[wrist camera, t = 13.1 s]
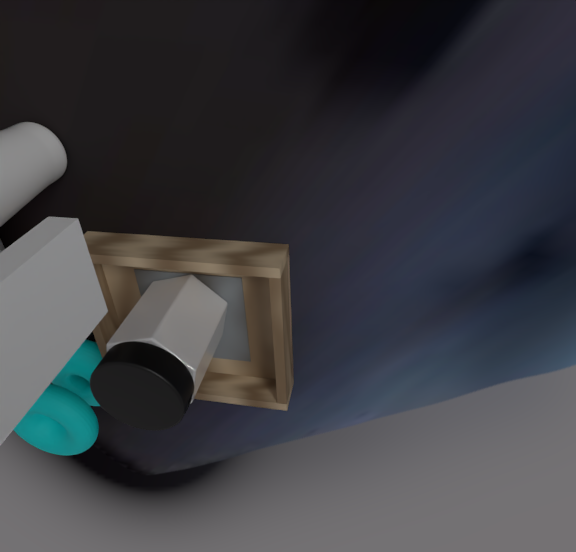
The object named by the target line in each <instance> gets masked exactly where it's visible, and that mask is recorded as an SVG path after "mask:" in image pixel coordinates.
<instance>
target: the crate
mask: <svg viewBox="0 0 576 552" xmlns="http://www.w3.org/2000/svg"><path fill="white" fill-rule="evenodd" d="M84 239H85V242H86V245H87V248H88V251H89V254H90V257H91V260H92V263H93V266H94V269H95V272H96V275H97V278H98V282H99V285H100V288H101V291H102V294H103V297H104V300H105V303H106V306H107V309H108V312H107V313H106V315H105V316H104V317H103V318H102V320H101V321H100V322H99V323H98V325H97V326H96V327H95V328H94V330H93V334H94V337H95V339H96V342H97V345H98V348H99V350H100V353H101V356H102V358H103V357H104V356H105V354H106V353H107V348H106V344H107V343H108V341H109V340H110V339H111V337H112V336H113V335H114V333H115V332H116V331H117V329H118V328H119V326H120V325H121V324H122V322H123V321H124V320H125V318H126V317H127V316H128V314H129V313H130V312H131V310H132V309H133V307H134V306H135V305H136V303H137V302H138V301H139V299H140V298H141V297H142V295H143V294H144V293H145V291H146V290H147V289H148V287H149V286H150V284H151V283H152V282H153V281H158V280H164V279H169V278H175V277H180V276H185V275H193V276H195V277H196V278H197V279H198V280H200V281H201V282H202V283H204V284H205V285H206V286H207V287H209V288H210V289H211V290H212V291H214V292H215V293H216V294H217V295H219V296H220V297H221V298H222V299H224V300H225V301H226V302H227V304H228V305H227V311H226V316H225V322H224V329H223V335H222V337H221V339H220V342H219V344H218V346H217V348H216V350H215V353H214V355H213V357H212V359H211V362H210V364H209V366H208V368H207V371H206V373H205V375H204V377H203V379H202V382H201V384H200V386H199V388H198V391H197V393H196V395H195V397H194V399H200V400H207V401H215V402H223V403H231V404H239V405H246V406H254V407H262V408H270V409H278V410H285V411H287V409H288V405H289V400H290V396H291V392H292V387H293V383H294V378H293V351H292V324H291V296H290V269H289V244H275V243H259V242H244V241H229V240H214V239H199V238H184V237H169V236H154V235H138V234H123V233H108V232H93V231H87V232H86V233H85V234H84Z"/></svg>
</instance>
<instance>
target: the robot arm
mask: <svg viewBox="0 0 576 552" xmlns="http://www.w3.org/2000/svg"><path fill="white" fill-rule="evenodd" d="M107 312H108V309H107V306H106V303H105V300H104V297H103V294H102V291H101V288H100V285H99V282H98V278H97V275H96V272H95V269H94V266H93V263H92V260H91V257H90V254H89V251H88V248H87V245H86V242H85V239H84V235H83V232H82V229H81V226H80V223H79V220H78V218H62V217H47V218H46V219H45V220H43V221H42V222H41V223H39V224H38V225H37V226H35V227H34V228H33V229H31V230H30V231H29V232H27V233H26V234H25V235H23V236H22V237H21V238H19V239H18V240H17V241H15V242H14V243H13V244H11V245H10V246H9V247H7V248H6V249H5V250H3V251H2V252H1V253H0V445H1V444H2V443H3V442H4V440H5V439H6V438H7V437H8V435H9V434H10V433H11V432H12V430H13V429H14V428H15V427H16V425H17V424H18V423H19V422H20V421H21V419H22V418H23V417H24V416H25V414H26V413H27V412H28V411H29V409H30V408H31V407H32V406H33V404H34V403H35V402H36V401H37V399H38V398H39V397H40V396H41V394H42V393H43V392H44V391H45V389H46V388H47V387H48V386H49V384H50V383H51V382H52V381H53V379H54V378H55V377H56V376H57V374H58V373H59V372H60V371H61V369H62V368H63V367H64V366H65V364H66V363H67V362H68V361H69V359H70V358H71V357H72V356H73V354H74V353H75V352H76V351H77V350H78V348H79V347H80V346H81V345H82V343H83V342H84V341H85V340H86V338H87V337H88V336H89V335H90V333H91V332H92V331H93V330H94V328H95V327H96V326H97V325H98V323H99V322H100V321H101V320H102V318H103V317H104V316H105V315H106V313H107Z"/></svg>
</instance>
